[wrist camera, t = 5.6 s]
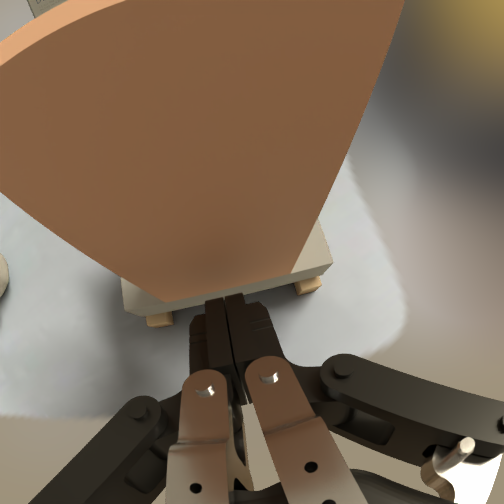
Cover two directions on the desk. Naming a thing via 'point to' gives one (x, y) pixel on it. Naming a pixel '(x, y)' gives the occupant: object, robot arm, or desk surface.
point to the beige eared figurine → (3, 274)
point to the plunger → (188, 135)
